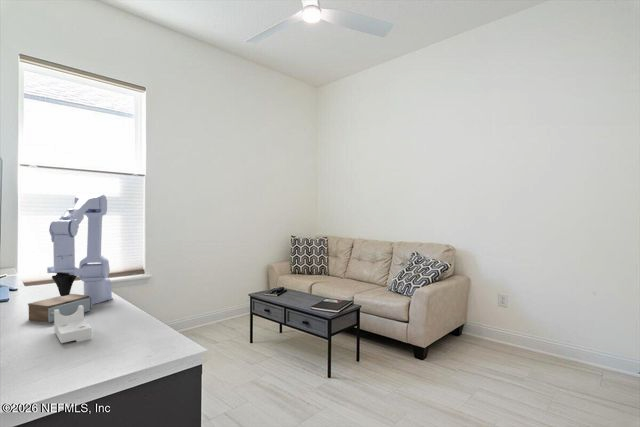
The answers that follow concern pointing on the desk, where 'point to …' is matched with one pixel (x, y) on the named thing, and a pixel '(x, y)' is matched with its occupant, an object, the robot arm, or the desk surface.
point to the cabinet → (40, 308)
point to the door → (69, 308)
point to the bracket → (71, 326)
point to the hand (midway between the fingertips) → (64, 295)
